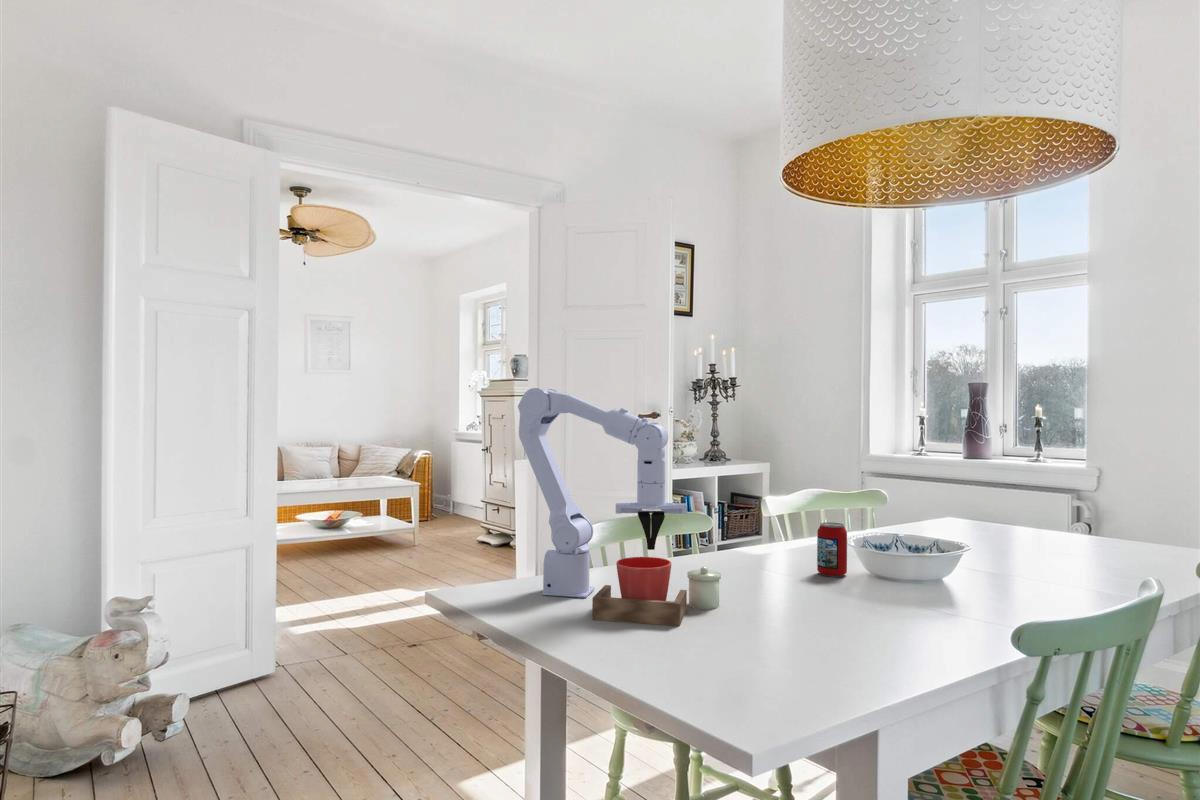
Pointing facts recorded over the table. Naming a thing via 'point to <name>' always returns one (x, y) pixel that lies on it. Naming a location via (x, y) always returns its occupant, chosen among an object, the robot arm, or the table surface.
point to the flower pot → (644, 578)
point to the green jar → (704, 588)
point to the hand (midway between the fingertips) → (650, 548)
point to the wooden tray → (638, 609)
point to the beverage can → (832, 549)
